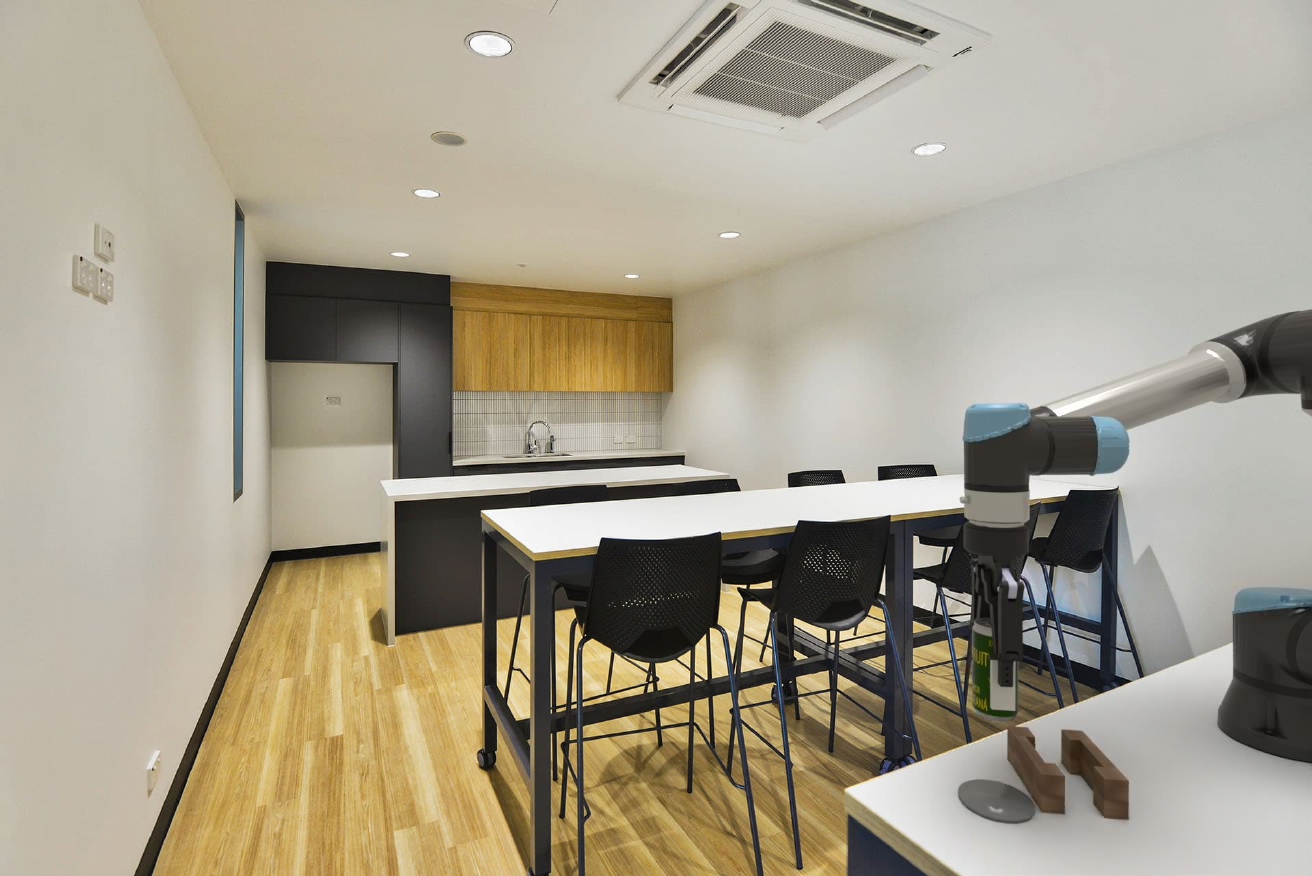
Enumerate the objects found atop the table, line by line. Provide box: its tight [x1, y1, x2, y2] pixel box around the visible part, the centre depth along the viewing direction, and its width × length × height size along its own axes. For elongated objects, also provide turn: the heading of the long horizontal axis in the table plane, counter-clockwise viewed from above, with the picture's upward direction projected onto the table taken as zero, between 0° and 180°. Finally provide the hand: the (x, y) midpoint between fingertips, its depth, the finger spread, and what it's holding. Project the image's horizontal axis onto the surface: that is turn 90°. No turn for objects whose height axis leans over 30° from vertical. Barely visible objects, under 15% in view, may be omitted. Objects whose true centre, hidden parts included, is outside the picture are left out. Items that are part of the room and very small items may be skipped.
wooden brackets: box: [1006, 725, 1130, 821], centre depth 90 cm, size 10×13×5 cm
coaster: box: [957, 778, 1036, 824], centre depth 87 cm, size 9×9×1 cm
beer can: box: [971, 617, 1020, 723], centre depth 86 cm, size 5×5×12 cm
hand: (995, 698), depth 86 cm, fingers closed on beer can, 5 cm apart
